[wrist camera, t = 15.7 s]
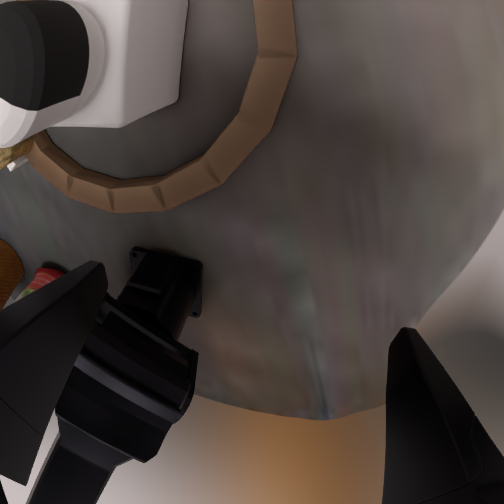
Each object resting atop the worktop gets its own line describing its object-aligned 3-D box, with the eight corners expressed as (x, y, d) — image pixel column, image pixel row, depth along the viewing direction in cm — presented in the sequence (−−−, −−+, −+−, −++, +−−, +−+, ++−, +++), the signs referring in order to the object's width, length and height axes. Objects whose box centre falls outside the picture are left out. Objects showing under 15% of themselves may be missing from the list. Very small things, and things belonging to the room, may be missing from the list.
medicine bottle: (95, 8, 14) (-53, 20, 4) (190, -2, 13) (51, -40, 4) (91, 99, 18) (-44, 166, 9) (179, 102, 18) (48, 174, 8)
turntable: (360, 121, 17) (380, 146, 12) (98, 241, 26) (65, 281, 21) (187, -133, 6) (154, -166, 1) (-13, 52, 15) (-59, 67, 11)
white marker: (22, 133, 20) (3, 143, 18) (34, 153, 21) (15, 164, 19) (17, 140, 21) (-2, 150, 19) (28, 160, 22) (10, 171, 20)
